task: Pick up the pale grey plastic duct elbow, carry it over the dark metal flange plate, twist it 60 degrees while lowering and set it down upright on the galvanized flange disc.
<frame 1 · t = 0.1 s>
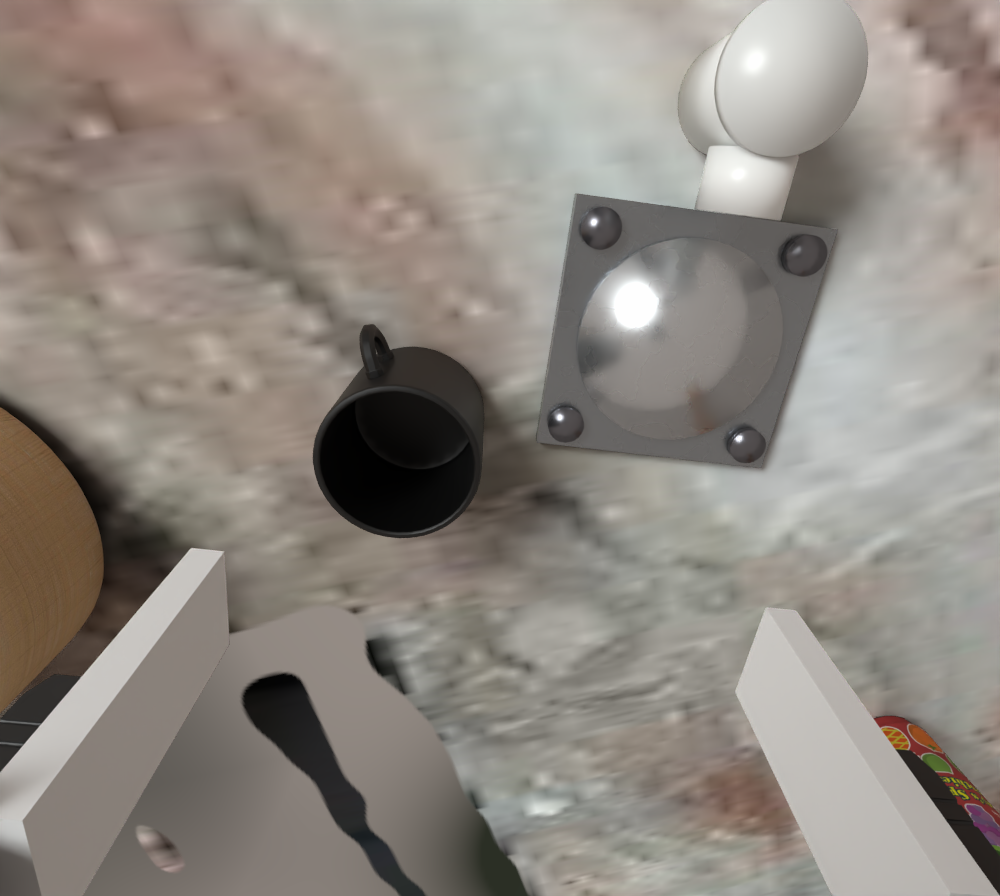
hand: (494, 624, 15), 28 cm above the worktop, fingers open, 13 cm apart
mug: (410, 394, 42), on the worktop
elbow: (730, 100, 35), on the worktop
duct flange: (673, 339, 40), on the worktop
smoothie: (879, 736, 55), on the worktop
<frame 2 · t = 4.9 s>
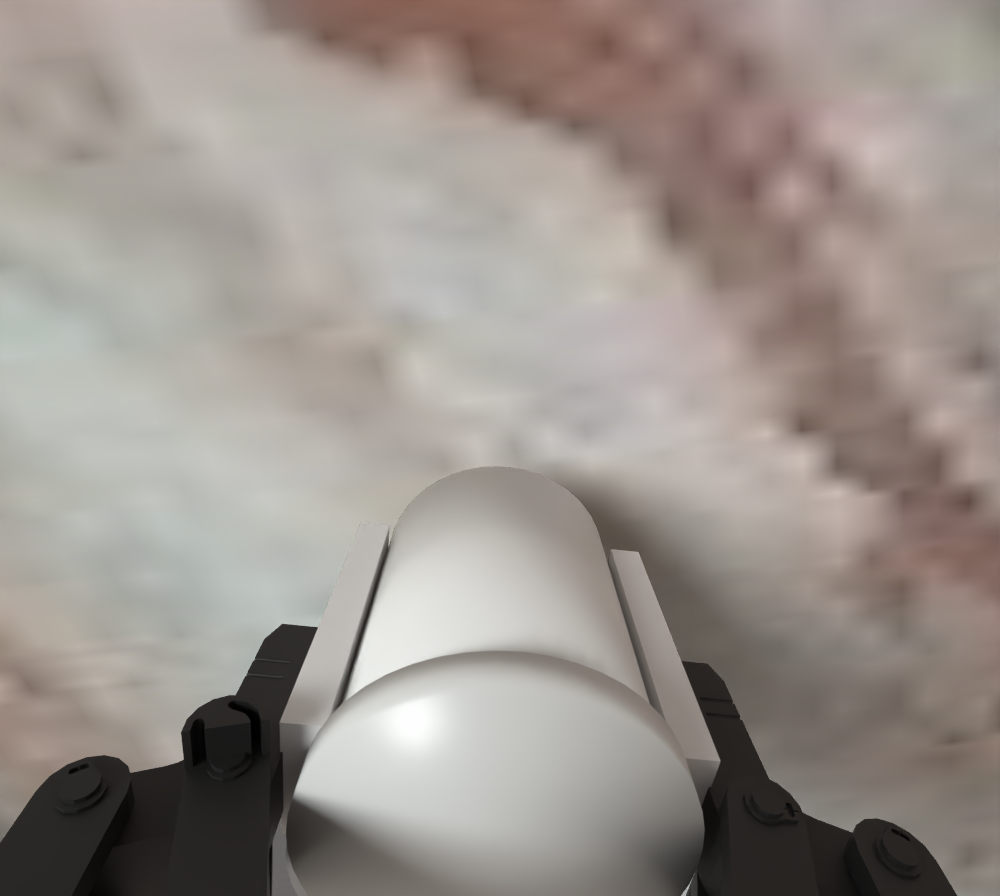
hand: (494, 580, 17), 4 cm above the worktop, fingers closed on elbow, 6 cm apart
elbow: (495, 563, 17), point 3 cm above the worktop, touching gripper
duct flange: (456, 828, 25), on the worktop
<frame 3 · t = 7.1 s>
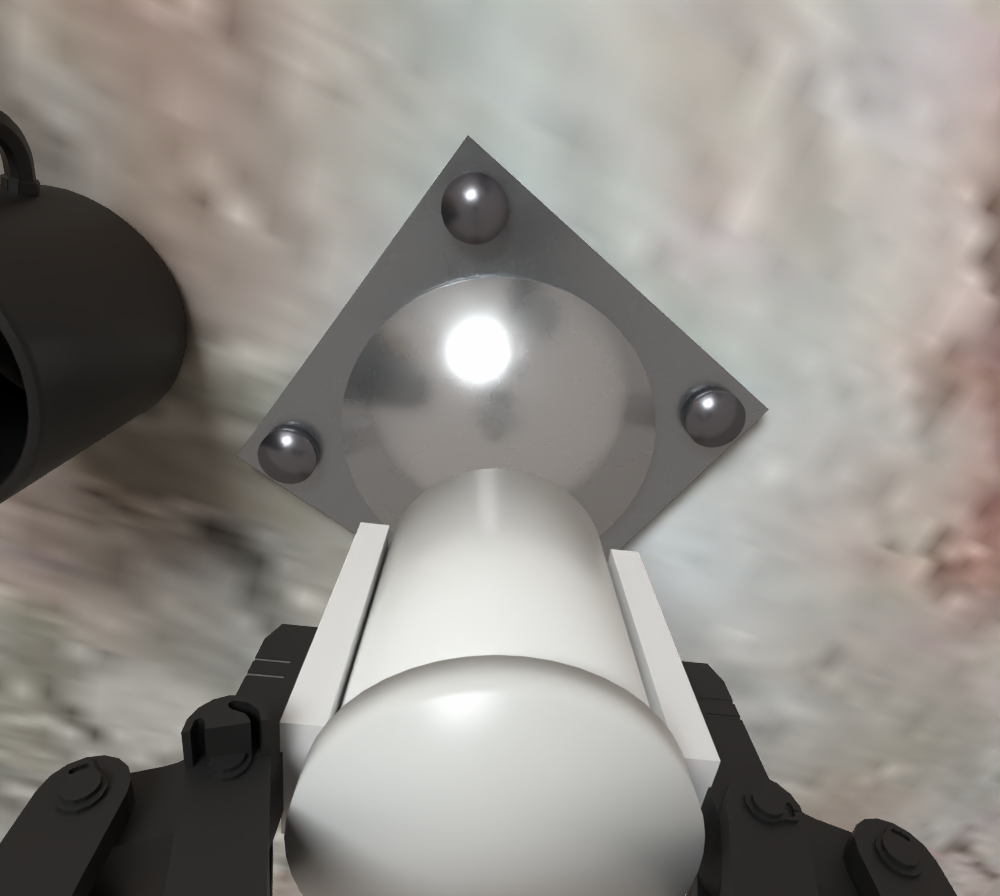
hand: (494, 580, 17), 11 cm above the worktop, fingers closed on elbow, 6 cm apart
mug: (76, 278, 24), on the worktop
elbow: (495, 565, 17), point 11 cm above the worktop, touching gripper
duct flange: (498, 424, 27), on the worktop
when the fingers open (2 cm above the worktop, at t = 9.4 s): elbow stays where it is, resting on duct flange.
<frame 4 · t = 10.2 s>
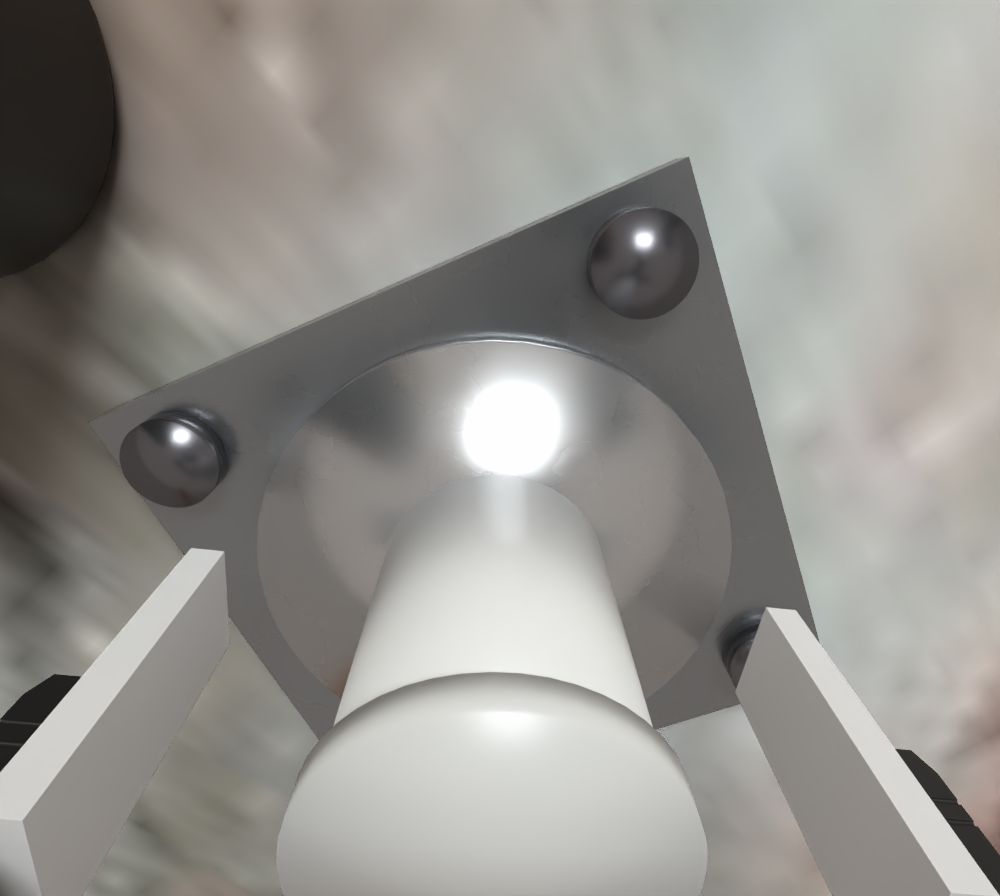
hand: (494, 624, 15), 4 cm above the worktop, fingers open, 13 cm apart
elbow: (493, 572, 17), point 2 cm above the worktop, touching duct flange
duct flange: (494, 543, 18), on the worktop
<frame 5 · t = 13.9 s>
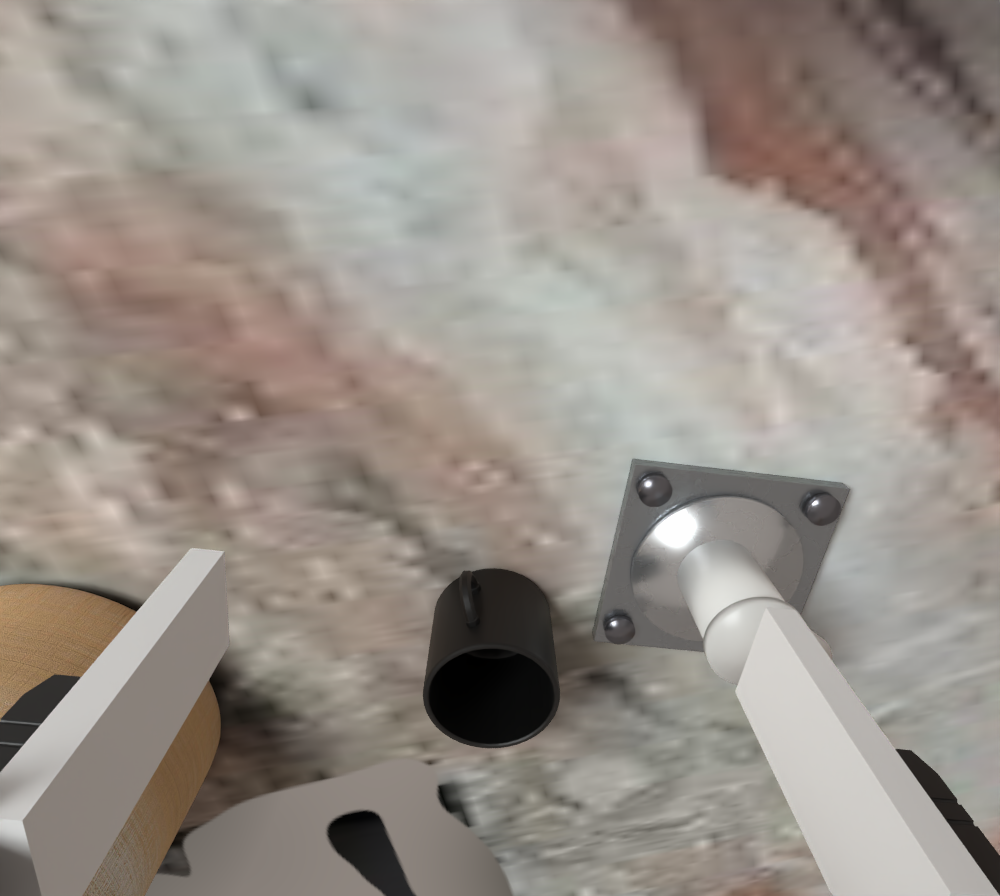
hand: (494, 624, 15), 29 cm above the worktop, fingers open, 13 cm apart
mug: (487, 600, 50), on the worktop
elbow: (716, 573, 47), point 2 cm above the worktop, touching duct flange
duct flange: (710, 562, 48), on the worktop
planter: (82, 692, 53), on the worktop
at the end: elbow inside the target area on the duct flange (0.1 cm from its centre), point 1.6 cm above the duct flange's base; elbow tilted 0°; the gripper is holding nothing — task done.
